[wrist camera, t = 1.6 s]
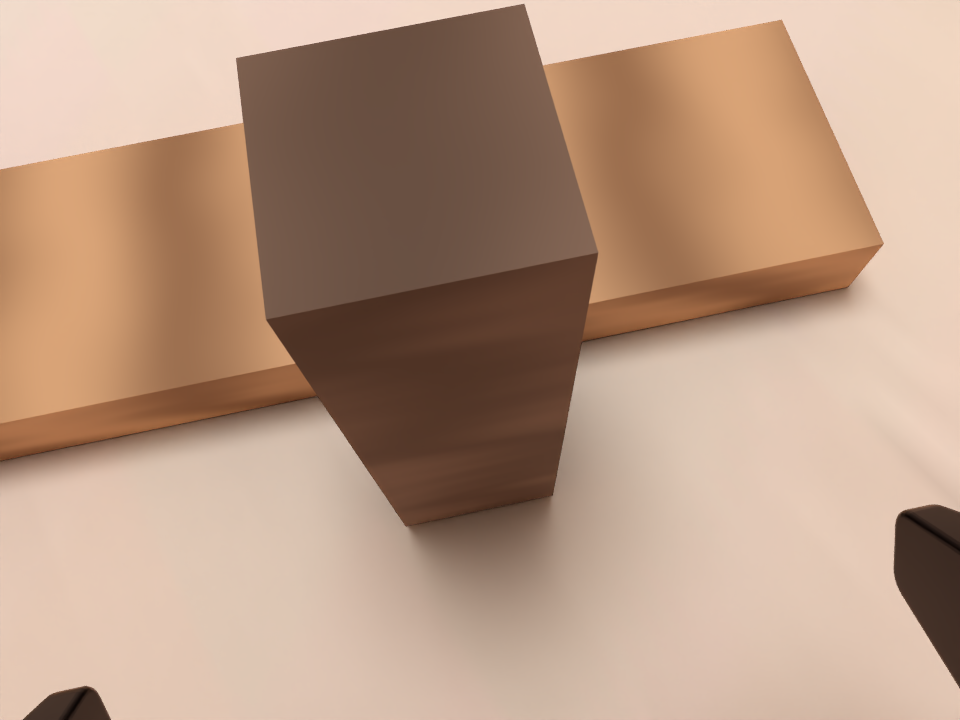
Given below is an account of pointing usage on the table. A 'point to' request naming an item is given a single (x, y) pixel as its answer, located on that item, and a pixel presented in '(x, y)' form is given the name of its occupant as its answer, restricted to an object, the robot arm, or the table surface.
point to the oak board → (235, 262)
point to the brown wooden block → (425, 251)
